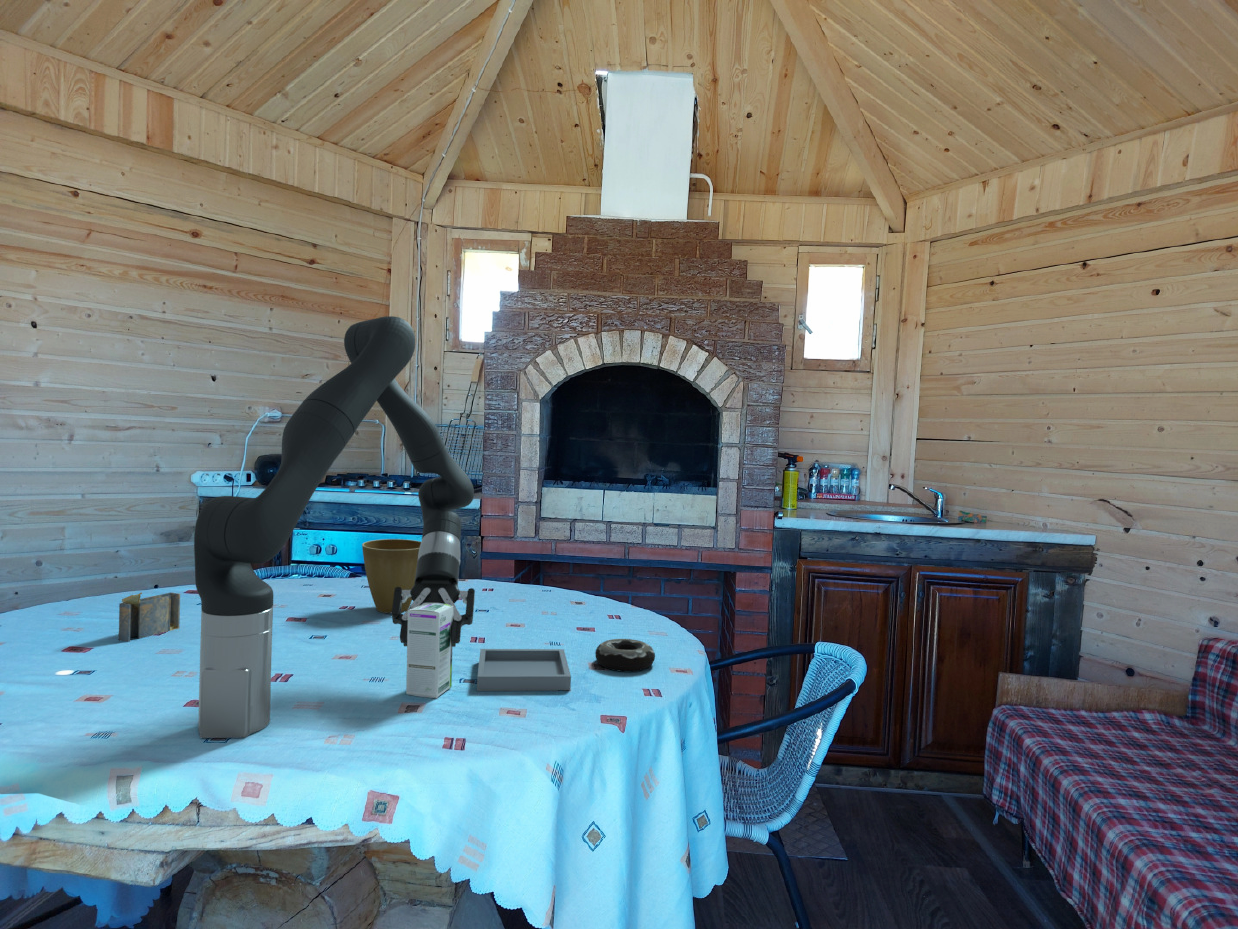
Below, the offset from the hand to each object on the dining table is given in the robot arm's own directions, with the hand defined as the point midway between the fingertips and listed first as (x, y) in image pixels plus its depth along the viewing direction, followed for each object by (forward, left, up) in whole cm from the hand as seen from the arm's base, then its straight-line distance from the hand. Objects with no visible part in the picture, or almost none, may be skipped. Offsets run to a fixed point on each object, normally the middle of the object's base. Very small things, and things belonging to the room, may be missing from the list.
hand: (429, 644), depth 124 cm
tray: (+9, -16, -8) cm, 20 cm away
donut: (+16, -36, -9) cm, 40 cm away
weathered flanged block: (+35, +58, -9) cm, 68 cm away
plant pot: (+57, +14, -9) cm, 59 cm away
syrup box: (+1, 0, -8) cm, 9 cm away
